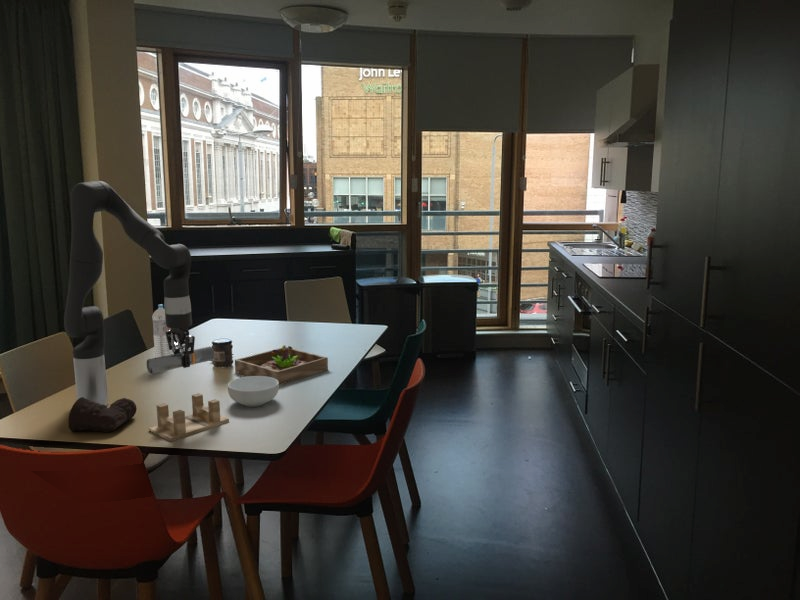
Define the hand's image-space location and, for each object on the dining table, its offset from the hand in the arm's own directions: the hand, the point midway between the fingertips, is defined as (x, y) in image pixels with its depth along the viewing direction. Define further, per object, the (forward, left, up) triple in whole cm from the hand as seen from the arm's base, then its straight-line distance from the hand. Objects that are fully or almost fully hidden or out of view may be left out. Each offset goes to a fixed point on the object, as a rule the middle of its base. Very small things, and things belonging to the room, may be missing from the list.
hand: (182, 365), depth 197 cm
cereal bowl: (+2, +25, -18) cm, 31 cm away
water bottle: (-62, +30, -18) cm, 71 cm away
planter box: (-19, +55, -18) cm, 60 cm away
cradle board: (+4, -1, -18) cm, 19 cm away
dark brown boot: (-16, -18, -19) cm, 31 cm away
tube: (0, 0, 0) cm, 1 cm away
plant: (-18, +56, -19) cm, 61 cm away
